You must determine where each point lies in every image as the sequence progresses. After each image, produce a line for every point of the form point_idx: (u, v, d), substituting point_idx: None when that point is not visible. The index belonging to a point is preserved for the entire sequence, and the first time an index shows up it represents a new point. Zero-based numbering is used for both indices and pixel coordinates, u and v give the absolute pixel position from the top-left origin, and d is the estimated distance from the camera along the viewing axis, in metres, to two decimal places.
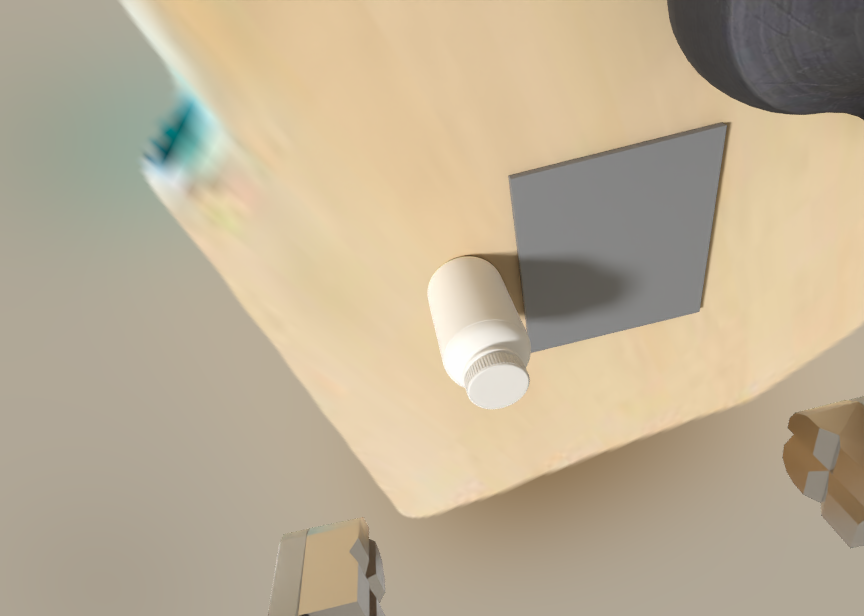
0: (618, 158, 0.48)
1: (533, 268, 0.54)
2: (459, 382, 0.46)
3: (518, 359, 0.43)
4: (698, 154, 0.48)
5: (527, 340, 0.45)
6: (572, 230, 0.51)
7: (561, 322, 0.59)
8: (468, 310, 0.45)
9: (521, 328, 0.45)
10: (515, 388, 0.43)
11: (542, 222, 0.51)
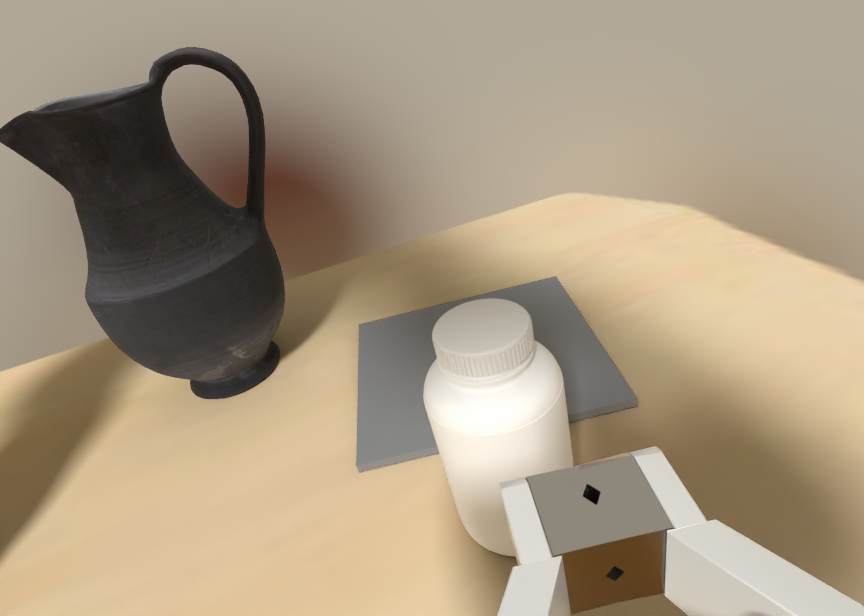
0: (364, 381, 0.49)
1: None
2: (524, 397, 0.26)
3: None
4: (379, 331, 0.55)
5: None
6: None
7: (574, 377, 0.43)
8: (433, 433, 0.30)
9: None
10: (485, 308, 0.29)
11: (419, 425, 0.42)
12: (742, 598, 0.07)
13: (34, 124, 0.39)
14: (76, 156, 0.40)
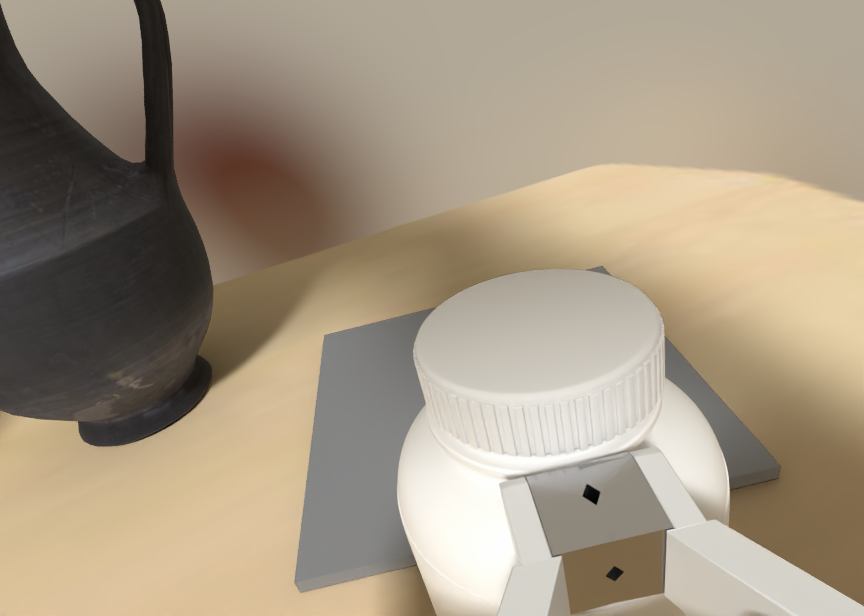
0: (322, 423, 0.32)
1: None
2: None
3: None
4: (350, 345, 0.38)
5: None
6: None
7: None
8: None
9: None
10: (537, 288, 0.12)
11: None
12: (742, 598, 0.07)
13: None
14: None
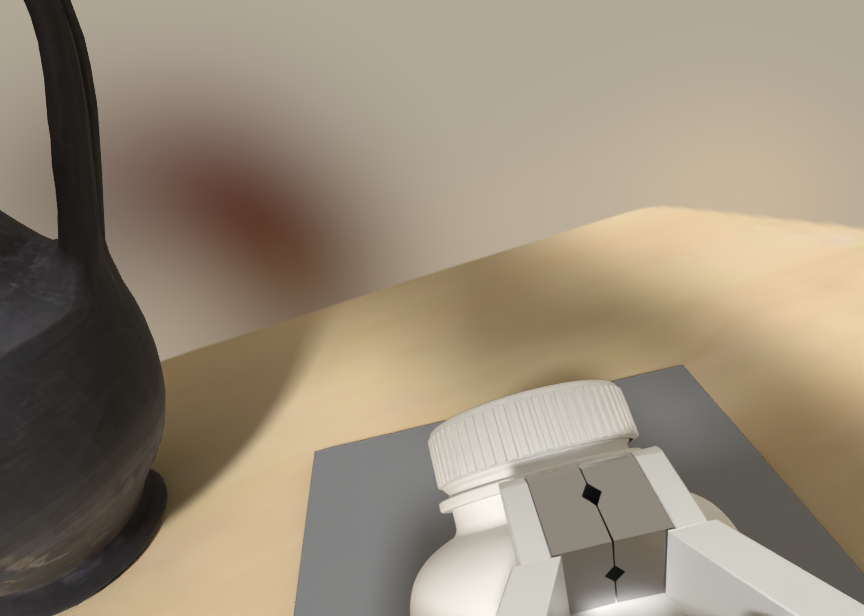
0: None
1: None
2: None
3: None
4: (348, 474, 0.29)
5: None
6: None
7: None
8: None
9: None
10: None
11: None
12: (743, 598, 0.07)
13: None
14: None
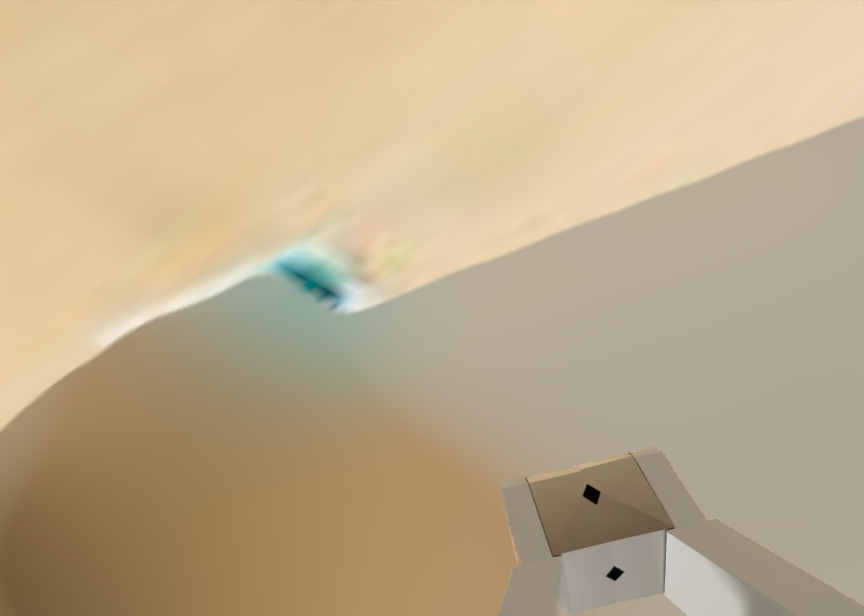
0: None
1: None
2: None
3: None
4: None
5: None
6: None
7: None
8: None
9: None
10: None
11: None
12: (742, 598, 0.07)
13: None
14: None
